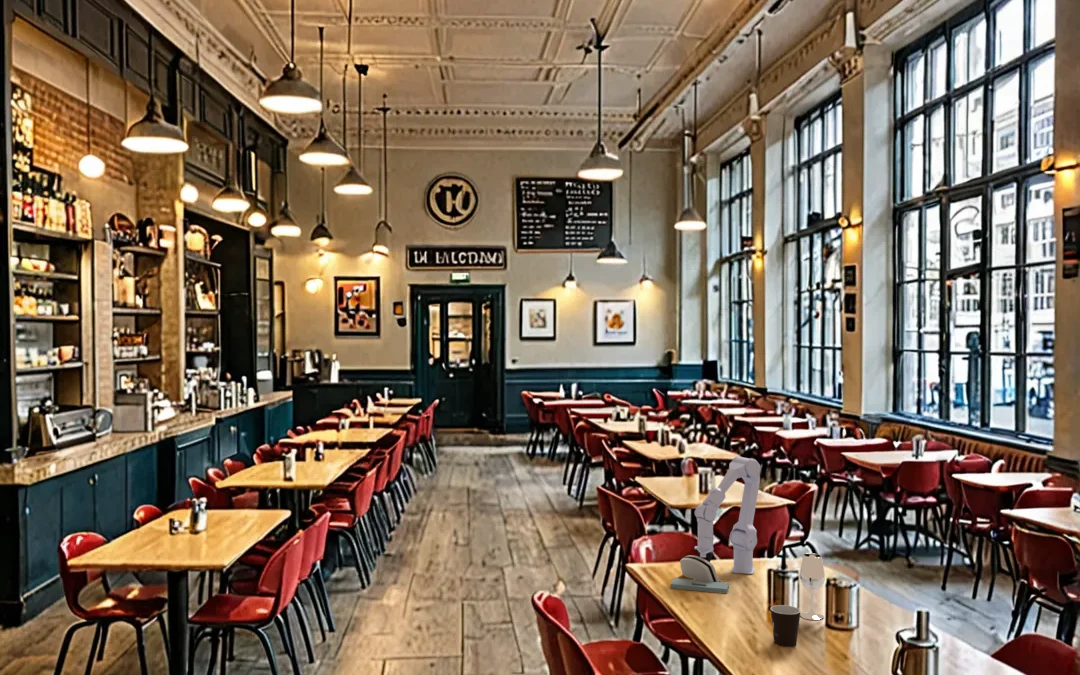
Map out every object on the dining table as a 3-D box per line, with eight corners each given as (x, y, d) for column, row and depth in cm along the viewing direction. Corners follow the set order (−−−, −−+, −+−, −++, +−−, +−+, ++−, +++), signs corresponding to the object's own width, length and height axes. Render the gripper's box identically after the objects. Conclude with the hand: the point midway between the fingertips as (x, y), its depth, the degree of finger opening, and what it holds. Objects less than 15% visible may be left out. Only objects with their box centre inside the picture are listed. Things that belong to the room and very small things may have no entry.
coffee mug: (795, 650, 252) (795, 616, 252) (766, 644, 257) (766, 610, 257) (806, 638, 262) (806, 605, 262) (778, 633, 267) (778, 600, 267)
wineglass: (828, 616, 283) (829, 555, 283) (818, 622, 278) (818, 559, 278) (806, 611, 289) (806, 551, 289) (795, 616, 283) (795, 555, 283)
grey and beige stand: (722, 583, 320) (715, 559, 318) (713, 590, 318) (706, 565, 316) (692, 573, 334) (685, 549, 333) (683, 579, 332) (676, 555, 330)
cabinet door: (674, 582, 322) (674, 576, 322) (729, 587, 316) (729, 581, 316) (670, 588, 314) (670, 582, 314) (726, 593, 308) (726, 587, 308)
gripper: (697, 531, 337) (697, 566, 337) (692, 539, 324) (691, 576, 324) (715, 532, 335) (715, 567, 335) (711, 541, 321) (711, 577, 321)
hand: (705, 571), depth 329 cm, fingers closed
